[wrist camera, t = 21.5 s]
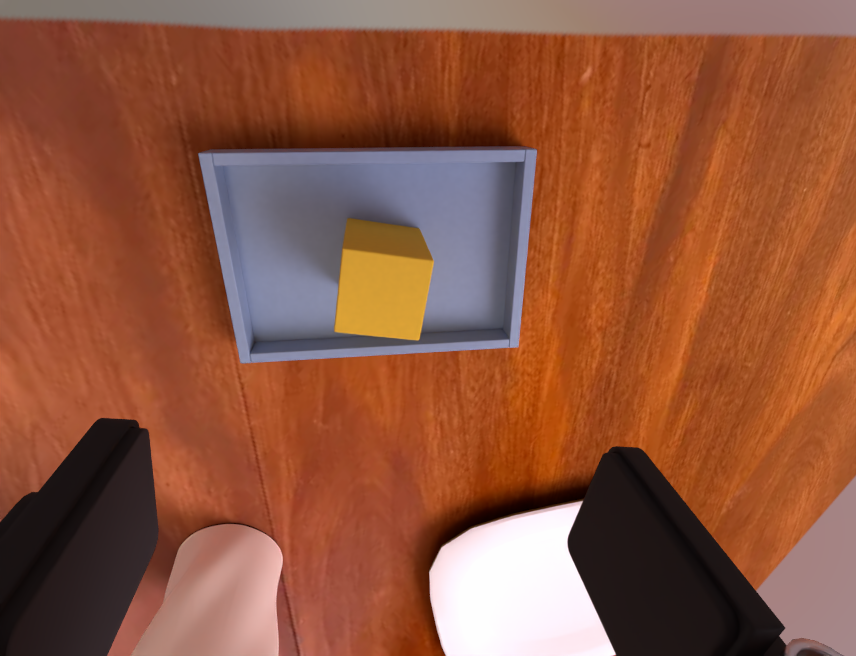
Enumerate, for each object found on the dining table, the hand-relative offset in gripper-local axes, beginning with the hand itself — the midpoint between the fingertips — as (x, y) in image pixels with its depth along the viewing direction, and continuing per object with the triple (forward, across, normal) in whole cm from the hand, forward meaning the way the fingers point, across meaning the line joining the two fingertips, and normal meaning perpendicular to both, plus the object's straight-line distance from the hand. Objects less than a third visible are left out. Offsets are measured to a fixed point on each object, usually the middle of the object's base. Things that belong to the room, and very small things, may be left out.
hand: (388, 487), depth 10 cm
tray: (+18, 0, +1) cm, 19 cm away
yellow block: (+18, -1, +1) cm, 18 cm away
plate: (+18, -20, +28) cm, 39 cm away
